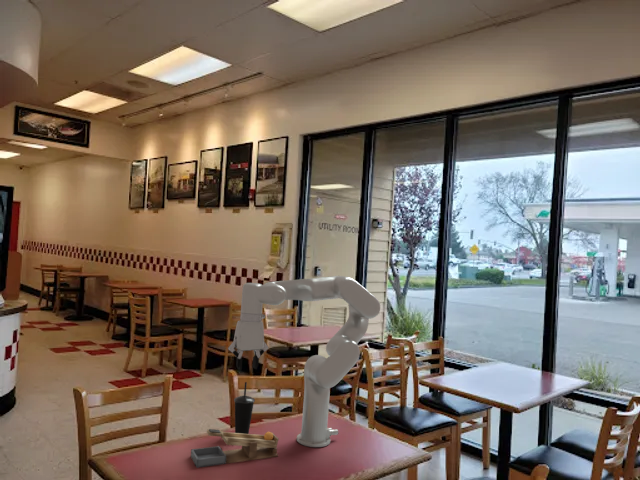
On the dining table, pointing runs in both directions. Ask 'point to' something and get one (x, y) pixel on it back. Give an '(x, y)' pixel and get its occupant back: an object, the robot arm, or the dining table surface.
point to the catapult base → (250, 453)
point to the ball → (268, 436)
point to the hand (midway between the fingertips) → (247, 368)
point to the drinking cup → (243, 412)
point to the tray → (208, 456)
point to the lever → (244, 439)
